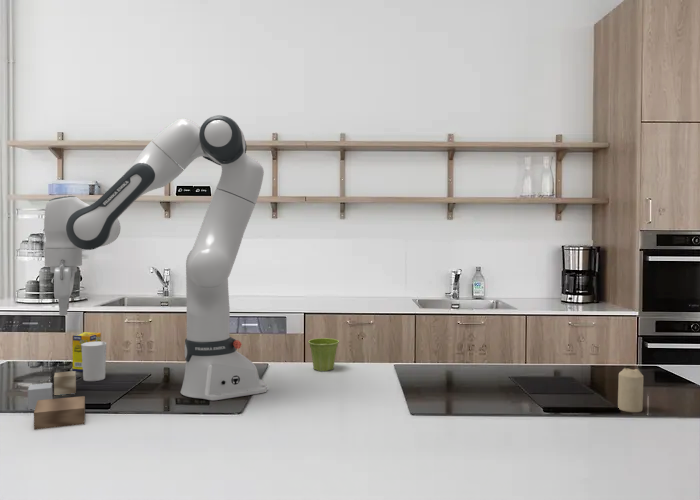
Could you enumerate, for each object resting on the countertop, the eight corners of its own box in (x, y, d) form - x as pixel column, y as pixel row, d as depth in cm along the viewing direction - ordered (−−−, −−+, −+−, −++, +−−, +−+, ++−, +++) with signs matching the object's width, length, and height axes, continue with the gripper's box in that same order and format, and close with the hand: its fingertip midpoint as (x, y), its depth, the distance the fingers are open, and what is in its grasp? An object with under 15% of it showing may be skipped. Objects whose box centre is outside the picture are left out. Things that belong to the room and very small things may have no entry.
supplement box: (90, 372, 185) (89, 336, 184) (71, 371, 186) (71, 335, 186) (101, 368, 191) (101, 332, 190) (84, 367, 192) (83, 331, 191)
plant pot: (338, 373, 187) (338, 344, 186) (306, 372, 187) (307, 343, 187) (339, 365, 196) (339, 338, 196) (309, 365, 196) (309, 338, 196)
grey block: (52, 402, 155) (52, 382, 154) (51, 408, 150) (51, 387, 150) (30, 405, 153) (29, 384, 153) (28, 410, 148) (27, 389, 148)
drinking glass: (111, 377, 179) (111, 343, 179) (91, 382, 174) (90, 347, 173) (97, 374, 183) (96, 340, 182) (76, 379, 177) (76, 344, 177)
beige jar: (642, 407, 154) (643, 367, 153) (642, 414, 149) (643, 372, 148) (618, 404, 156) (619, 365, 156) (617, 410, 151) (618, 369, 151)
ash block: (76, 389, 167) (75, 371, 166) (75, 394, 162) (75, 375, 162) (55, 391, 165) (55, 372, 165) (54, 396, 160) (53, 377, 160)
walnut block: (85, 412, 148) (84, 396, 148) (84, 425, 139) (84, 408, 138) (37, 417, 144) (37, 400, 144) (34, 431, 135) (33, 412, 135)
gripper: (75, 261, 153) (76, 317, 154) (77, 256, 172) (78, 306, 173) (47, 261, 151) (48, 318, 152) (52, 257, 170) (53, 307, 171)
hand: (64, 312), depth 162 cm, fingers open, 8 cm apart
